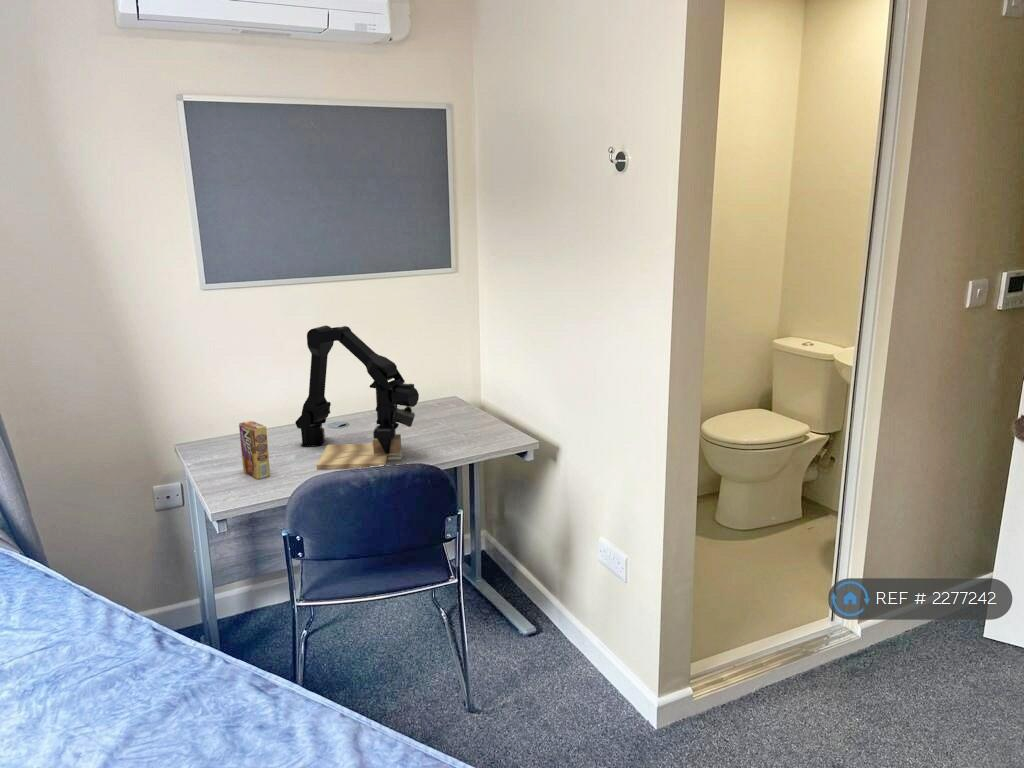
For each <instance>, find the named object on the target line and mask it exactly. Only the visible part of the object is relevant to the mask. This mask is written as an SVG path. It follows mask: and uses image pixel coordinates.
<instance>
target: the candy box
mask: <svg viewBox="0 0 1024 768" xmlns="http://www.w3.org/2000/svg"><path fill="white" fill-rule="evenodd" d="M238 427H239V429H238V430H239V439H240V447H241V448H240V449H241V450H240V451H241V460H242V468H243V469H242V470H243V473H245V474H246V475H248V476H251V477H253V478H255V479H257V480H260V479H263V478H267V477H270V476H271V471H270V457H269V444H268V434H267V433H268V432H267V426H266V425H263V424H260V423H257V422H256V421H253V420H247V421H246V420H245V421H243V422H240V423H238Z"/></svg>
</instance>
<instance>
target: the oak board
mask: <svg viewBox="0 0 1024 768" xmlns="http://www.w3.org/2000/svg"><path fill="white" fill-rule="evenodd" d="M387 461H388V455H383V456H374V449H373V443H349V444H347V443H345V444H344V443H343V444H342V443H341V444H340V443H338V444H327V446H326V447H325V449H324V451H323V453H322V454H321V455H320V458H319V460H318V462H317V464H316V470H319V471H320V470H321V471H322V470H324V471H325V470H350V469H349V468H360V467H370V466H379V465H385V466H386V464H387Z"/></svg>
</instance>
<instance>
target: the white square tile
mask: <svg viewBox="0 0 1024 768" xmlns="http://www.w3.org/2000/svg"><path fill="white" fill-rule="evenodd" d="M402 456H403V452H401V454H400V455H388V458H387V461H388V460H389V461H390V460H402Z"/></svg>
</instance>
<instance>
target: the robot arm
mask: <svg viewBox="0 0 1024 768" xmlns="http://www.w3.org/2000/svg"><path fill="white" fill-rule="evenodd" d="M336 341H338V342H339V343H340V344H341V345H342V346H343V347H344V348H345V349H346V350H348V351H349V352H350V353H351V354H352V355H353V356H354V357H355V358H356V359H358V360H359V362H360V363H362V364H363V365H364V367H366V369H365V370H366V372H367V374H368V375H369V376H370V378H372V380H373V382H372V383H371V384H370V385H369V388H370V389H375V400H376V403H375V404H376V407H375V412H376V416H377V417H376V418H377V419H376V427H375V428H374V430H373V433H372V434H373V439H374V438H375V439H376V438H377V439H378V441H379V443H380V444H381V446H382V448H383V450H384V452H385V454H389V452H390V445H391V439H392V438H394V437H395V435H396V434H397V433H396V429H397V428H398V427H399V425H400V424H402V425H405V426H406V427H409V428H410V427H412V426H413V422H414V420H415V416H416V414H415V412H414V411H413V409H412V408H414V407H415V406H417V404H418V402H419V398H420V397H419V396H420V395H419V391H418V389H417V388H415V384H414V383H405V379H404V378H403V376H402V375H401V373H400V371H399V370H398V366H397V364H396V363H395V362H393V361H392V360H390V359H388V358H387V357H386V356H383V355H381V354H378V353H376V352H375V351H374V350H373V349H372V348H370V347H369V346H368V345H367V344H366V343H365V342H364V341H363V340H362V339H361V338H360V337H358V336H357V334H355V333H354V332H353V331H352V329H351V328H350V327H349V326H347V325H343V326H336V327H331V326H329V325H326V324H325V325H321V326H319V327H313V328H311V329H309V330H307V333H306V343H307V346H306V347H307V348H308V350H309V352H310V355H311V358H310V370H309V371H310V372H309V386H308V387H309V388H308V396H307V398H306V399H305V401H304V403H303V406H302V410H301V415H300V416H299V417H298V419H297V420H296V421H295V425H296V428H297V429H300V431H301V444H300V446H301V447H321V446H322V445H323V443H324V442H325V441H326V435H325V428H324V427H323V424H325V423H326V422H327V419H328V417H329V415H330V414H331V405H332V404H331V401H328V400H327V399H326V397H325V394H326V379H327V367H328V365H327V364H328V356H329V353H330V352H331V351H332V349H333V346H334V342H336ZM398 406H402V407H403V406H404V407H405V408H398Z"/></svg>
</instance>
